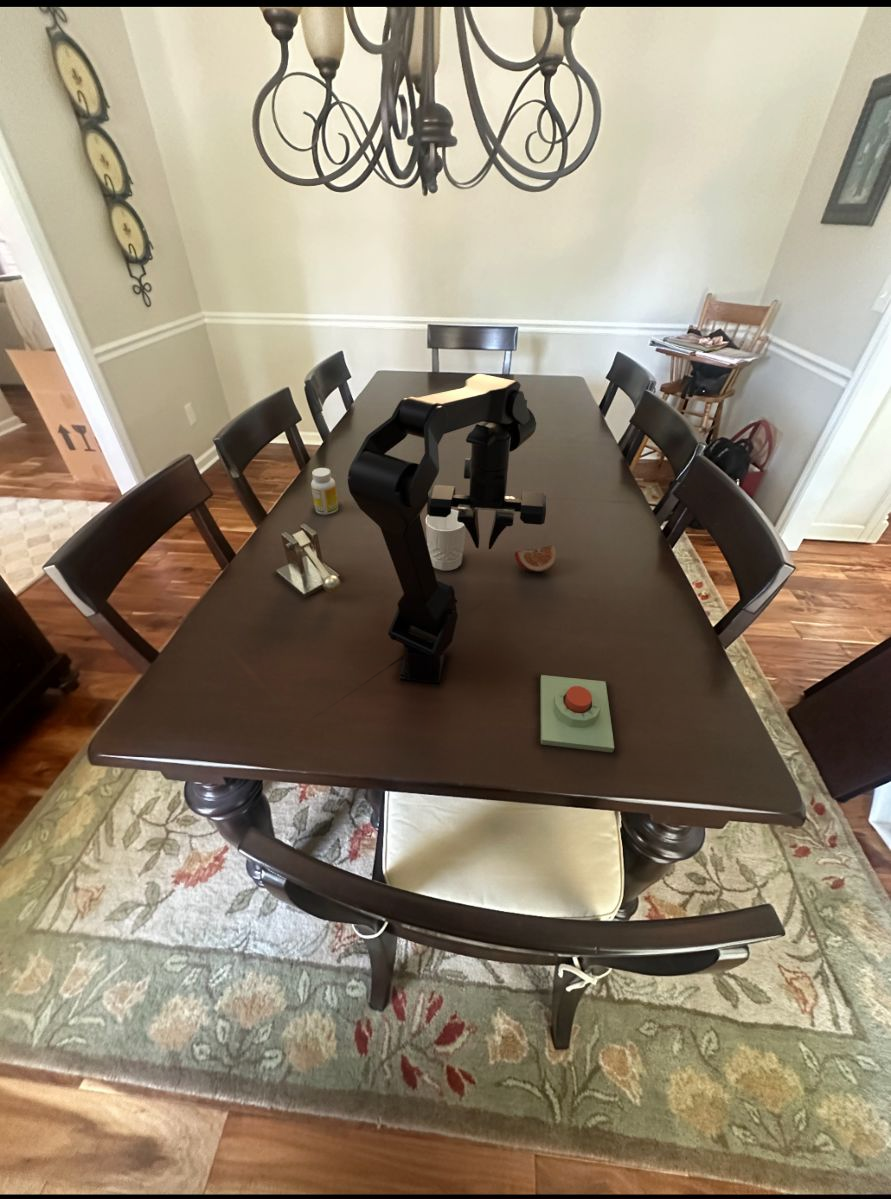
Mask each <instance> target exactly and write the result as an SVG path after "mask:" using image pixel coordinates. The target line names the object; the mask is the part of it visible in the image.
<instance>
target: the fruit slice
mask: <svg viewBox="0 0 891 1199" xmlns="http://www.w3.org/2000/svg"><path fill="white" fill-rule="evenodd" d="M557 554H558V553H557V545H556V544H553V545H547V546H543V547H539V548H533V547H532V548H530V549H527V548H526V549H522V550H517V551H516V552H514V559H515V562H516V563H517V565H518V566H519V567H520V568H521V569H522V570H525V571H527V572H531V573H540V572H542V573H543V572H544V571H546V570H548V569H550V568H551V567H552V566H553V565H554V564H555V562H556V559H557Z"/></svg>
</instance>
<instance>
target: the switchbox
mask: <svg viewBox="0 0 891 1199" xmlns="http://www.w3.org/2000/svg"><path fill="white" fill-rule="evenodd" d="M539 681H540V682H539V686H540V687H539V689H540V690H539V692H540V693H539V694H540V695H539V696H540V704H539V705H540V744H541V745H544V746H551V747H552V746H553V747H554V746H555V747H561V748H570V749H579V750H586V751H587V750H588V751H596V752H604V753H613V752H614V750H615V741H614V734H613V726H612V718H611V710H610V705H609V697H608V689H607V683H606V681H604V680H595V679H594V680H593V679H584V678H576V677H575V678H574V677H565V676H556V675H547V674H541V675H540V679H539ZM573 686H580V687H583V688H585V689H587V690H588V691H589V692H590V693H591V696H592V701H591V704H590V707H589V709H588V710H587V711H586V712H584V713H575V712H573V711H571V710H569V709H568V708H567V706H566V705H565V697H566V693H567V691H568V689H569V688H571V687H573Z"/></svg>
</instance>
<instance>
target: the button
mask: <svg viewBox="0 0 891 1199" xmlns="http://www.w3.org/2000/svg"><path fill="white" fill-rule="evenodd" d="M591 701H592V696H591V693H590V692H589V691H588V690H587V689H585V688H583V687H580V686H573V687H571V688H569V689H568V691H567V693H566V697H565V705H566V706H567V708H568V709H569V710H571V711H573V712H575V713H584V712H586V711H587V710H588V709H589V707H590V704H591Z"/></svg>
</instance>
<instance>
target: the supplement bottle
mask: <svg viewBox="0 0 891 1199" xmlns="http://www.w3.org/2000/svg"><path fill="white" fill-rule="evenodd" d="M311 473H312V480H311V482H310V488H311V493H312V499H313V505H314V510H315V512H316V513H317V514H320V515H324V516H325V515H326V516H327V515H331V514H334V513H336V512H337V511H338V510H339V502H338V501H339V500H338V493H337V487H336V482H335V480H334V478H333V477H332V473H331V469H329V468H328V467H319V468H315V469H313V470H312V472H311Z"/></svg>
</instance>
